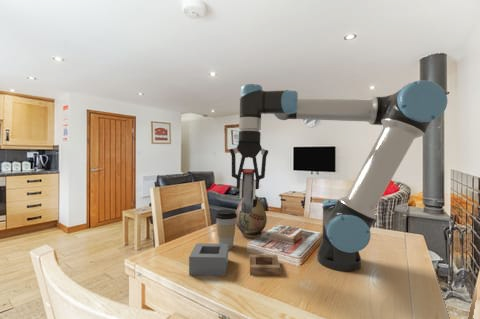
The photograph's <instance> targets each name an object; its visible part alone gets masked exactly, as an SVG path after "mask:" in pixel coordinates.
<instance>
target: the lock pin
mask: <svg viewBox="0 0 480 319" xmlns="http://www.w3.org/2000/svg"><path fill="white" fill-rule="evenodd" d="M241 179H242V199H241V200H242V205H241V212H242V213H246V214H250V213H253V185H254V179H255V170H254V168H243V169H242V176H241Z"/></svg>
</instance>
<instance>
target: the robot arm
mask: <svg viewBox="0 0 480 319" xmlns="http://www.w3.org/2000/svg"><path fill="white" fill-rule="evenodd" d="M239 95H240V96H239V119H238V120H239V121H238V130H240V131H238V144H237V146H236V147H234V148H230V149H229V152H230V155H231V177H232V178H235V179H236V188H237V189H238V190H239V199H241V200H242V174H243V172H242V169H244V165H245V161H246V158H247V159H248V158H250V159H252V164H253V169H254V170H255V173H254V185H253V199H255V195H256V190H259V188H260V180H264V179H265V177H266V176H265V174H266V164H267V157H268V155H269V150H267V149H264V148H262V146H261V138H262V137H261V133H262V132H260V131H261V129H262V114H264V115H267V114H269V115H270V114H271V115H274V116H275V118H277V119H278V120H281V121H287V120H315V121H338V122H339V121H340V122H341V121H343V122H344V121H345V122H368V124H370V125H373V126H374V125H375V126H377V125H378V126H382V130H381V132H380V134H379V135H378V137H377V139H376V140H375V143H374V145H373V146H372V148H371V151H370V152H369V154H368V156H367V158H366V160H365V161H364V163H363V164H362V167H361V169H360V171H359V172H358V174H357V176H356V178H355V180H354V181H353V183H352V185H351V187H350V189H349V191H348V192H347V194H346V196H343V197H340V198H338V199H325V200H324V201H323V203H322V236H321V237H322V238H321V242H320V245H319V248H318V250H317V252H316V256H317V257H316V258H317V261H318V262H319V264H321V265H322V266H325V267H326V268H328V269H332V270H336V271H343V272H354V271H357V270H359V269H361V267H362V258H361V254H360V251H362V250H364V249H365V248H366V247H368V245H369V243H370V241H371V228H372V226H373V225H374V223H375V221H376V219H377V216H376V213H375V209H376V207H377V206H378V204H379V202H380V200H381V199H382V197H383V195H384V193H385V192H386V190H387V189H388V186H389V185H390V183H391V181H392V180H393V178H394V176H395V174H396V172H397V170H398V168H399V167H400V165H401V164H402V161H403V160H404V158H405V156H406V154H407V152H408V151H409V150H410V147H411V146H412V144H413V142H414V141H415V139H416V138H420V137H424V135H425V133H426V132H427V130H428V128H429V126H430V125H431V123H432V121H436V120H437V119H438V118H439V117H441V115H442V114H444V113H445V111H446V108H447V105H448V95H447V93H446V92H445V90H444V88H443V87H442V86H441V85H440V84H438V83H436V82H435V81H432V80H426V79H423V80H416V81H413V82H410V83H408V84H406V85H404V86H403V87H402V88H400V89H399V90H398V91H397V92H394V94H393V93H392V94H390V95H385V96H374V97H372V98H370V99H336V98H335V99H333V98H331V99H330V98H329V99H328V98H327V99H326V98H323V99H321V98H318V99H316V98H313V99H312V98H299V97H298V91H297V90H289V89H286V90H267V91H266V90H264V89H263V87H262V85H260V84H258V83H256V84H255V83H254V84H253V83H248V84H247V83H246V84H244V85H242V86H241V88H240V94H239ZM237 151H238V152H237ZM260 152H261V155H262V156H261V169H260V174H259V167H258V162H257V156H258V154H259V153H260ZM238 153H239V154H240V155H241V158H240V163H239V167H238V171H237V170H236V168H237V167H236V155H237V154H238ZM236 171H237V173H236Z"/></svg>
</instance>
